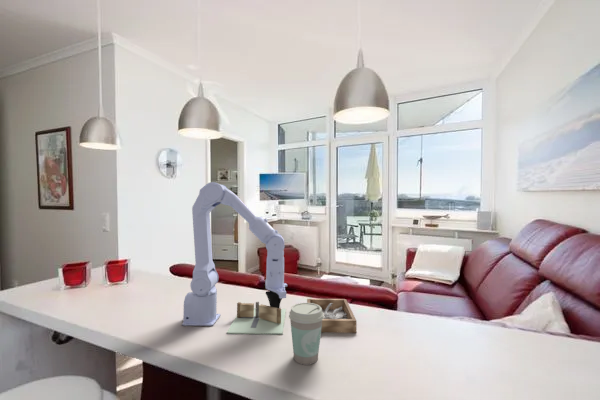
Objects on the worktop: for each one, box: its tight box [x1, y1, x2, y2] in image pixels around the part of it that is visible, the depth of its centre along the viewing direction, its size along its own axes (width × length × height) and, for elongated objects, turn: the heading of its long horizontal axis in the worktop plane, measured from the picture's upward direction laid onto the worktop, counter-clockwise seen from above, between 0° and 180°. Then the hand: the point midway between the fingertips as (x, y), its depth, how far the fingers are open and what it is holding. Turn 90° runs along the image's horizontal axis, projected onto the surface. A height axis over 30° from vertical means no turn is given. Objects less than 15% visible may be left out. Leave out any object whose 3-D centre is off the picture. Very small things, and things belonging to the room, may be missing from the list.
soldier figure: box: [323, 303, 347, 319], centre depth 84 cm, size 8×5×12 cm
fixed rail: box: [236, 301, 260, 318], centre depth 87 cm, size 7×1×5 cm, turn 90°
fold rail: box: [259, 303, 282, 324], centre depth 84 cm, size 8×1×4 cm, turn 59°
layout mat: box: [226, 307, 287, 335], centre depth 86 cm, size 16×18×1 cm
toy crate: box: [306, 298, 357, 334], centre depth 87 cm, size 14×18×4 cm
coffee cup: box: [288, 302, 325, 366], centre depth 65 cm, size 8×8×12 cm
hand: (274, 313), depth 86 cm, fingers closed, pressing on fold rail
